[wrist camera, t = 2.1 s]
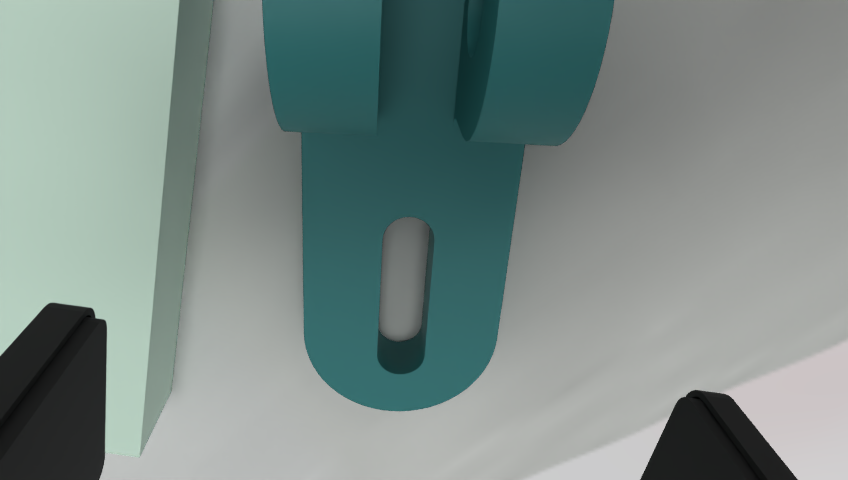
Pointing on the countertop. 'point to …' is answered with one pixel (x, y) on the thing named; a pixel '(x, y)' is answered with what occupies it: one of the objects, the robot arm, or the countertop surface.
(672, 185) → the countertop surface
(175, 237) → the base plate
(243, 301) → the countertop surface
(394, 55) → the bracket
